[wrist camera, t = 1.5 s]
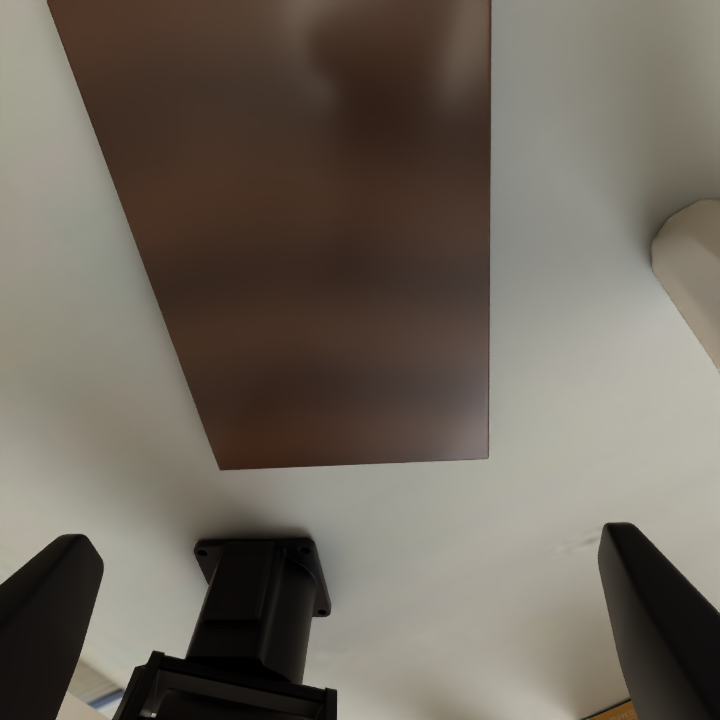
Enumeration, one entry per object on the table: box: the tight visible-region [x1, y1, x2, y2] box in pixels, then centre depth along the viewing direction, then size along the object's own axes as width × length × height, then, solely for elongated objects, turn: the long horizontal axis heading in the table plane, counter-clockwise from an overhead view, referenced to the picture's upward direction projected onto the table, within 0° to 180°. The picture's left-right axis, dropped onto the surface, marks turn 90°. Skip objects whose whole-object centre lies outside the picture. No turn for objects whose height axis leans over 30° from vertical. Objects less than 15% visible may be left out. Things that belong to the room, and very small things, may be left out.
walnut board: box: [47, 0, 492, 470], centre depth 19 cm, size 18×12×1 cm, turn 7°
